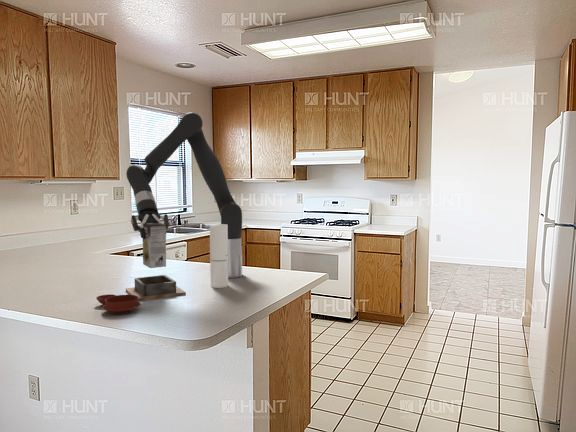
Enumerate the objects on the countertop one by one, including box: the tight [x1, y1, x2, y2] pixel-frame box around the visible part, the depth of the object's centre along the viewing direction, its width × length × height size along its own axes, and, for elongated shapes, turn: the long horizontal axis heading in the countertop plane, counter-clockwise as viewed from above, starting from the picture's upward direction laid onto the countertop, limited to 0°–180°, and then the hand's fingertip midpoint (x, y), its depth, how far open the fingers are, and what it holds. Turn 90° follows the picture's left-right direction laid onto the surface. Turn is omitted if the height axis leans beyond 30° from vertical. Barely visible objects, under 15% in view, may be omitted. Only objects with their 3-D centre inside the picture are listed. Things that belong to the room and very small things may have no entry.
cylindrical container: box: [209, 223, 229, 289], centre depth 175 cm, size 7×7×25 cm
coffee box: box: [142, 223, 167, 269], centre depth 163 cm, size 9×6×16 cm
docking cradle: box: [125, 274, 187, 302], centre depth 164 cm, size 18×18×5 cm
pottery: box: [95, 294, 142, 315], centre depth 143 cm, size 12×20×4 cm, turn 48°
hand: (154, 237), depth 163 cm, fingers closed on coffee box, 6 cm apart
